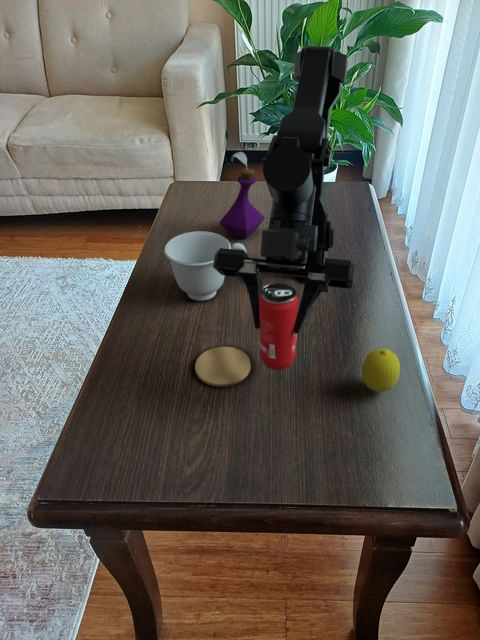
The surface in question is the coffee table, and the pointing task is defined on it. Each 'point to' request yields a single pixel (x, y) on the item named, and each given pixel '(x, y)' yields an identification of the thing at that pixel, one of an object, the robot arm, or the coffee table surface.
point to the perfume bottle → (242, 206)
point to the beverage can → (278, 325)
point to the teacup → (197, 262)
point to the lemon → (381, 370)
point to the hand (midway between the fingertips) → (276, 330)
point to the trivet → (222, 366)
